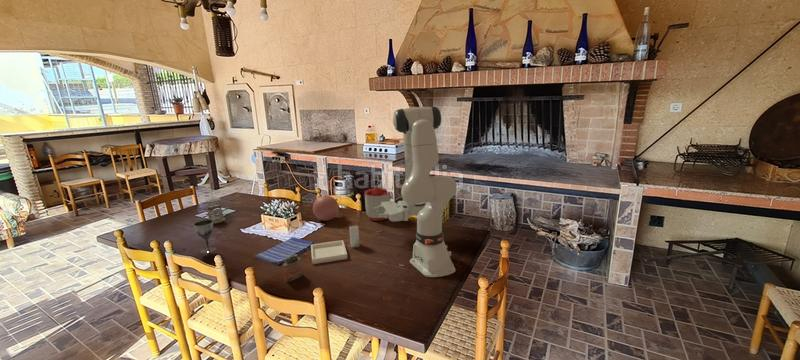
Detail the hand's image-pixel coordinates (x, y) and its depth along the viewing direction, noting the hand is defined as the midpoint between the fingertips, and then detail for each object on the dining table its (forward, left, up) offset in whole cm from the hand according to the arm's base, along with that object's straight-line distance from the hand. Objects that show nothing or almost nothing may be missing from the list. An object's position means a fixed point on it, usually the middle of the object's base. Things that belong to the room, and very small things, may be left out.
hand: (376, 212), depth 169 cm
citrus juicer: (+34, -9, -17) cm, 39 cm away
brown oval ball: (+43, +21, -16) cm, 51 cm away
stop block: (0, +12, -16) cm, 20 cm away
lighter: (-22, +41, -17) cm, 50 cm away
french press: (+64, +88, -17) cm, 110 cm away
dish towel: (+5, +45, -17) cm, 49 cm away
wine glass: (+19, +83, -16) cm, 87 cm away
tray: (-5, +25, -16) cm, 31 cm away
